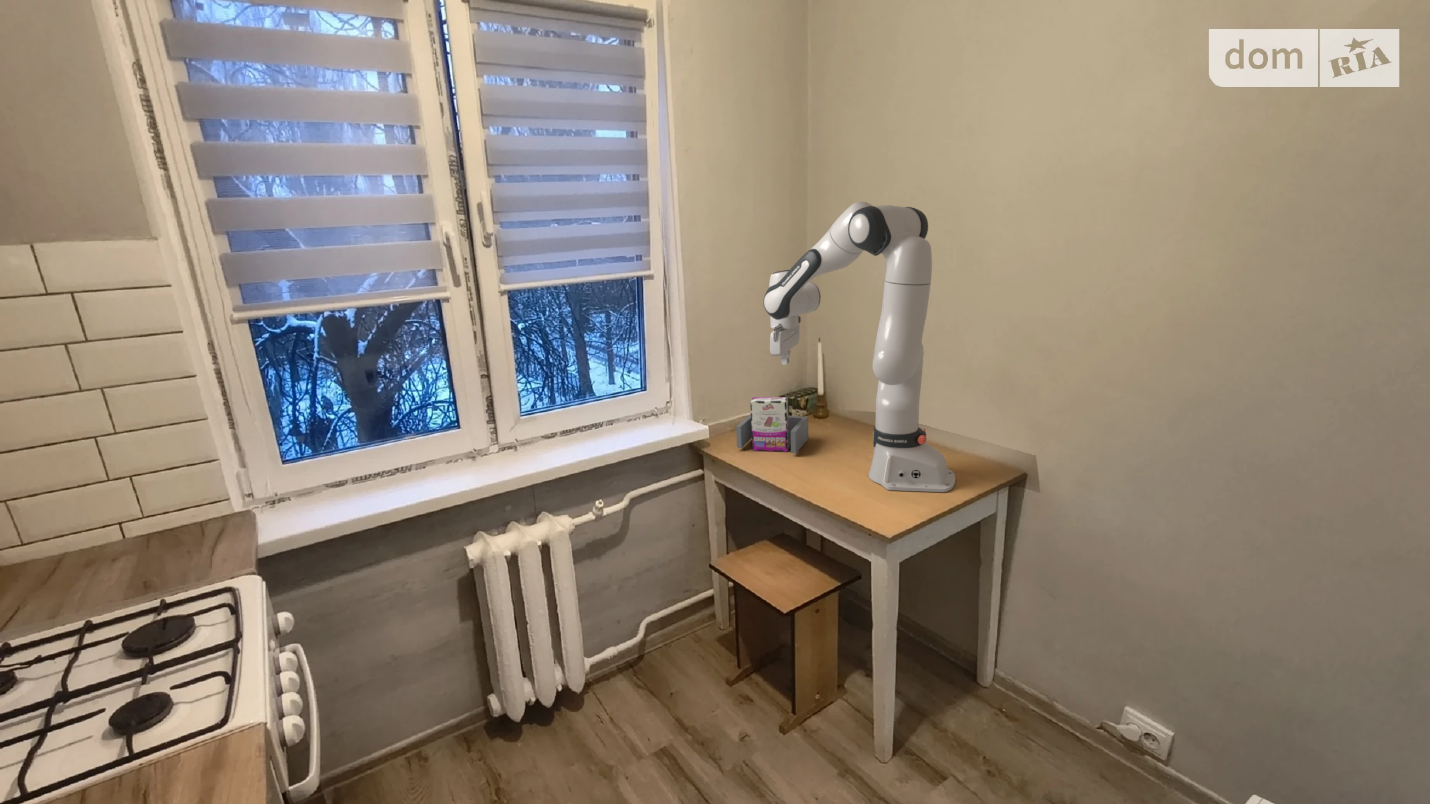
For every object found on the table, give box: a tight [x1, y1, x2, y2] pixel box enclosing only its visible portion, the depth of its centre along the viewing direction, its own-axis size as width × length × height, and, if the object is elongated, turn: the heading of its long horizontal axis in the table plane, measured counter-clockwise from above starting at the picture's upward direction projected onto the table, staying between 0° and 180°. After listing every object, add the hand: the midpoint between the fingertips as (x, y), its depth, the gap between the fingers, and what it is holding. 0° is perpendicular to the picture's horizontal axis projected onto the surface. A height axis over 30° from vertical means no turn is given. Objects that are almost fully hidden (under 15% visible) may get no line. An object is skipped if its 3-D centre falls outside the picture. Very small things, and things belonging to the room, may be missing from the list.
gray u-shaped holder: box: [735, 413, 809, 454], centre depth 200 cm, size 19×14×8 cm
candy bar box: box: [750, 396, 790, 453], centre depth 197 cm, size 11×5×16 cm, turn 77°
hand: (785, 363), depth 207 cm, fingers closed
